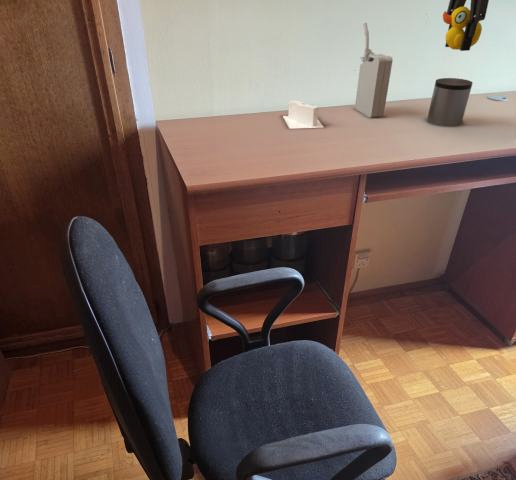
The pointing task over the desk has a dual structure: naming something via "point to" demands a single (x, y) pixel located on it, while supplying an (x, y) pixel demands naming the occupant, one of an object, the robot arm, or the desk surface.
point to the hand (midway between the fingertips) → (457, 48)
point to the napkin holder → (302, 116)
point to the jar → (449, 101)
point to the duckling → (459, 27)
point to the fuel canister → (373, 82)
